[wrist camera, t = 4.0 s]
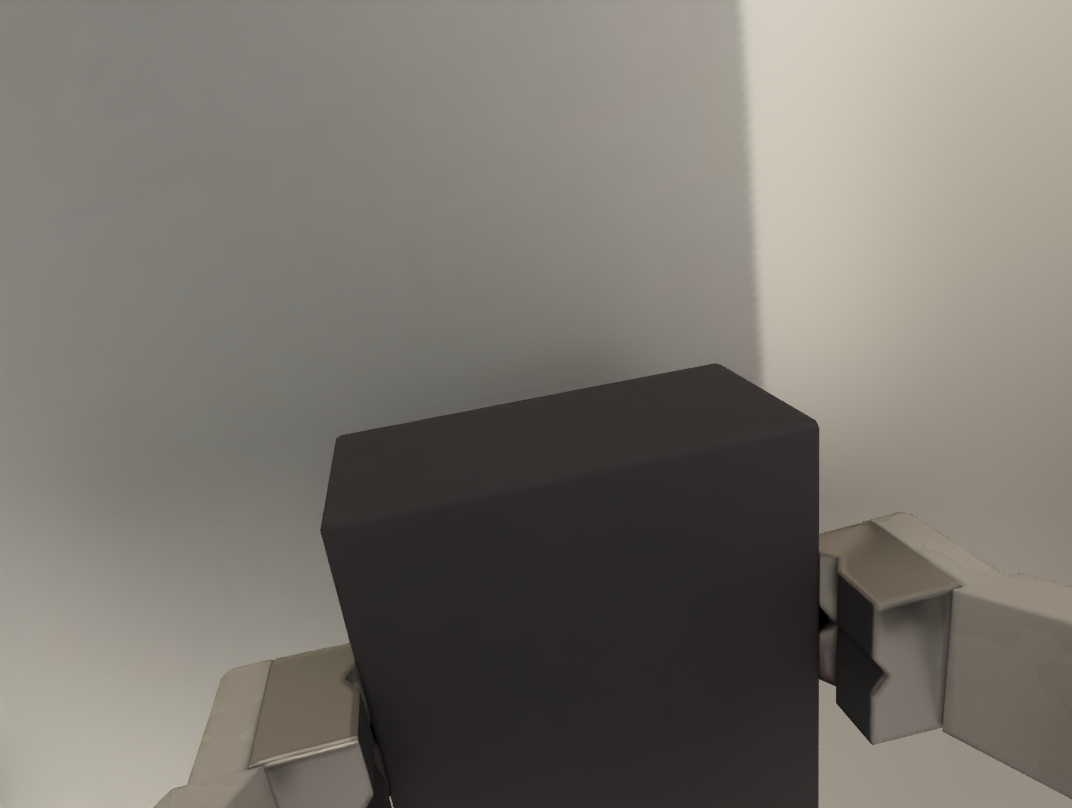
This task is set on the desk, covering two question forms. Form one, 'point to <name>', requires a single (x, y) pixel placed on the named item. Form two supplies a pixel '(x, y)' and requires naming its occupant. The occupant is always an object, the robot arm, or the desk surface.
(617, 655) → the two-tone stepped block
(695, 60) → the desk surface
